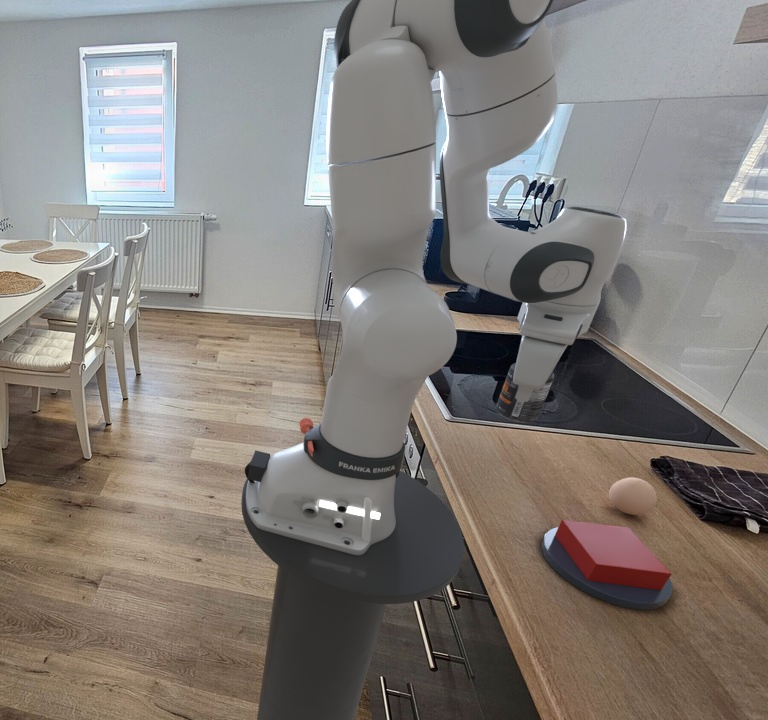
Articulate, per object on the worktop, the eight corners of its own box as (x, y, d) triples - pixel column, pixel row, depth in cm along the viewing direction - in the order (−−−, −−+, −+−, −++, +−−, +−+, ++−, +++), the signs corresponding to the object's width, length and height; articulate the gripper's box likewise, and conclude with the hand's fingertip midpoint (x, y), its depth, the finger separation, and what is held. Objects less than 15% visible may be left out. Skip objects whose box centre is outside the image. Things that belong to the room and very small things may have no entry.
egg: (609, 516, 76) (625, 486, 73) (598, 496, 80) (612, 466, 77) (654, 526, 74) (671, 495, 71) (639, 504, 78) (655, 474, 75)
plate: (572, 600, 63) (576, 593, 63) (523, 526, 74) (526, 520, 74) (697, 618, 60) (701, 611, 60) (626, 538, 72) (629, 532, 71)
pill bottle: (492, 402, 89) (512, 345, 84) (532, 410, 87) (556, 351, 82) (497, 418, 85) (520, 359, 80) (540, 427, 82) (566, 366, 77)
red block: (587, 580, 64) (596, 564, 63) (554, 535, 71) (561, 519, 70) (661, 590, 62) (672, 573, 61) (620, 543, 69) (629, 527, 68)
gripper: (538, 294, 86) (512, 365, 92) (520, 327, 73) (491, 407, 79) (585, 302, 82) (555, 375, 89) (575, 338, 69) (540, 422, 75)
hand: (524, 391), depth 84 cm, fingers closed on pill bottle, 6 cm apart
